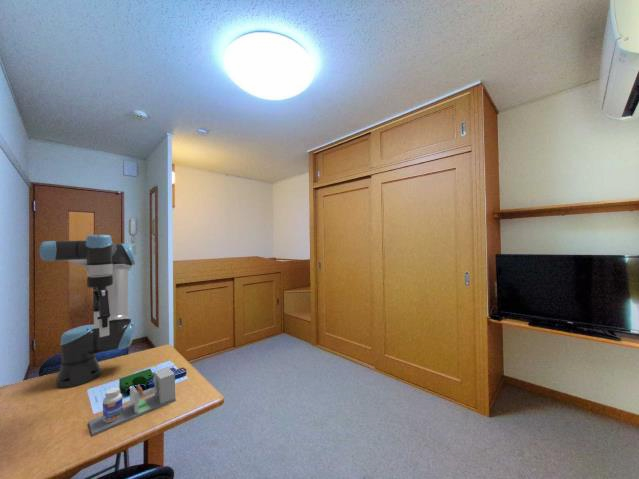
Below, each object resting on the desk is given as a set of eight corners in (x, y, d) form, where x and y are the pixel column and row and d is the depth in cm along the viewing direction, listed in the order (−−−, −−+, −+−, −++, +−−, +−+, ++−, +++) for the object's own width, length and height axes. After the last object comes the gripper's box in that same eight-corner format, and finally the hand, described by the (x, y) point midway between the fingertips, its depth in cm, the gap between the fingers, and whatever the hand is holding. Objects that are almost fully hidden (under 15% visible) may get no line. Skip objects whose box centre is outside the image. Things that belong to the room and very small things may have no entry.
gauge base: (88, 423, 92) (87, 393, 92) (168, 391, 110) (167, 366, 110) (92, 436, 86) (91, 404, 86) (175, 400, 104) (175, 374, 104)
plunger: (130, 405, 100) (129, 386, 100) (171, 389, 110) (170, 372, 110) (134, 413, 95) (134, 393, 95) (177, 395, 105) (176, 377, 105)
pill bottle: (107, 425, 90) (106, 396, 90) (100, 419, 93) (99, 391, 92) (125, 416, 94) (124, 388, 94) (118, 410, 97) (118, 384, 97)
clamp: (128, 404, 109) (118, 390, 105) (124, 395, 113) (114, 381, 109) (158, 382, 117) (150, 369, 113) (154, 375, 121) (146, 361, 117)
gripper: (83, 274, 106) (84, 326, 106) (91, 280, 89) (93, 343, 89) (106, 272, 112) (108, 322, 112) (119, 277, 95) (120, 336, 95)
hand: (101, 331), depth 101 cm, fingers open, 13 cm apart
